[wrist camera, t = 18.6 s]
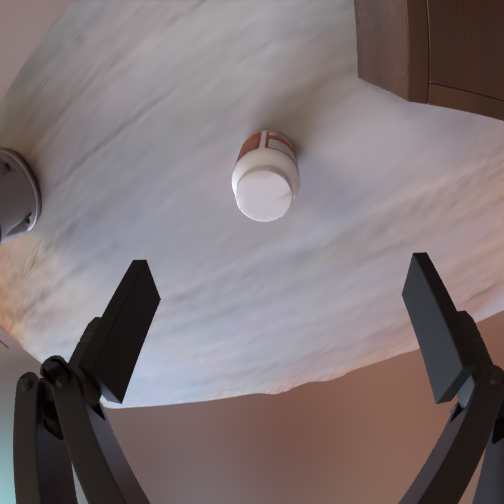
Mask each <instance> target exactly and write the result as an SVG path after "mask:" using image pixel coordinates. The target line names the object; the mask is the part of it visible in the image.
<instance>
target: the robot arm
mask: <svg viewBox="0 0 504 504" xmlns="http://www.w3.org/2000/svg"><path fill="white" fill-rule="evenodd" d="M40 212H41V197H40V191H39V187H38V184H37V181H36V179H35V177H34V175H33V173H32V171H31V169H30V167H29V166H28V164H27V163H26V162H25V161H24V160H23V158H22V157H21V156H19V155H18V154H17V153H16V152H14V151H12V150H10V149H6V148H0V244H2V243H4V242H6V241H9V240H11V239H13V238H15V237H18V236H20V235H22V234H24V233H26V232H27V231H29V230H30V229H31V228H32V227H33V226H34V225H35V224H36V223H37V221H38V219H39V216H40ZM402 297H403V300H404V302H405V305H406V308H407V311H408V313H409V316H410V319H411V322H412V325H413V328H414V331H415V334H416V337H417V340H418V343H419V346H420V349H421V353H422V356H423V359H424V363H425V366H426V369H427V373H428V376H429V380H430V384H431V387H432V391H433V395H434V399H435V403H436V404H439V403H443V402H448V401H451V400H452V399H453V398H454V396H455V395H456V394H457V396H458V400H459V401H458V402H457V403H456V404H455V405H454V406H453V408H452V409H451V410H450V412H449V413H451V412H452V411H453V412H452V414H451V416H450V418H449V420H448V422H447V424H446V426H445V428H444V430H443V432H442V434H441V436H440V438H439V440H438V441H437V443H436V445H435V447H434V449H433V450H432V452H431V454H430V456H429V458H428V459H427V461H426V463H425V464H424V466H423V468H422V469H421V471H420V472H419V474H418V475H417V477H416V479H415V480H414V482H413V483H412V485H411V486H410V488H409V489H408V491H407V492H406V493H405V495H404V496H403V498H402V499H401V501H400V502H399V503H398V504H458V502H459V500H460V499H461V497H462V495H463V493H464V491H465V489H466V488H467V486H468V484H469V482H470V480H471V478H472V476H473V474H474V472H475V469H476V467H477V465H478V463H479V461H480V459H481V456H482V454H483V452H484V449H485V447H486V450H485V455H484V460H483V464H482V469H481V473H480V477H479V481H478V485H477V488H476V492H475V496H474V499H473V502H472V504H504V371H503V370H502V369H501V368H500V367H499V366H496V365H493V363H492V361H491V358H490V356H489V353H488V351H487V348H486V346H485V344H484V342H483V339H482V337H481V336H480V333H479V331H478V330H477V326H476V324H475V322H474V320H473V318H472V317H471V316H470V315H469V314H468V313H467V312H466V311H457V310H456V308H455V306H454V304H453V302H452V300H451V298H450V296H449V294H448V292H447V290H446V288H445V286H444V284H443V282H442V280H441V278H440V276H439V274H438V272H437V271H436V269H435V267H434V265H433V263H432V262H431V260H430V258H429V256H428V254H427V253H426V252H424V253H413V255H412V259H411V263H410V267H409V270H408V274H407V278H406V282H405V285H404V289H403V292H402ZM160 300H161V299H160V296H159V294H158V291H157V288H156V286H155V283H154V280H153V277H152V275H151V272H150V269H149V266H148V263H147V260H133V261H132V263H131V265H130V267H129V268H128V270H127V272H126V273H125V275H124V277H123V279H122V280H121V282H120V284H119V286H118V288H117V289H116V291H115V293H114V295H113V297H112V298H111V300H110V302H109V304H108V306H107V308H106V310H105V312H104V313H103V315H102V317H95V318H94V319H93V320H92V321H91V322H90V323H89V324H88V325H87V327H86V329H85V331H84V333H83V335H82V337H81V339H80V342H78V344H77V346H76V348H75V350H74V352H73V354H72V356H71V358H70V360H69V363H67V362H66V361H65V360H64V358H62V357H61V356H57V355H55V356H51V357H49V358H48V359H46V360H45V362H44V363H43V364H42V366H41V369H40V374H41V375H42V376H43V378H39V377H38V376H37V375H36V374H35V373H33V372H27V373H25V374H23V375H22V376H21V377H20V379H19V381H18V383H17V388H16V398H15V412H14V431H13V432H14V433H13V460H14V461H13V462H14V482H15V494H16V504H78V502H77V497H76V491H75V485H74V479H73V471H72V463H73V466H74V469H75V472H76V474H77V477H78V480H79V482H80V485H81V487H82V490H83V492H84V494H85V497H86V499H87V501H88V504H150V502H149V501H148V499H147V497H146V495H145V494H144V492H143V490H142V488H141V486H140V485H139V483H138V481H137V479H136V477H135V475H134V473H133V472H132V470H131V468H130V466H129V464H128V462H127V460H126V458H125V456H124V454H123V451H122V449H121V447H120V445H119V443H118V441H117V438H116V436H115V434H114V432H113V429H112V427H111V425H110V422H109V420H108V418H107V415H106V413H105V410H104V408H103V405H102V403H101V402H100V397H101V395H103V396H104V398H105V399H106V400H107V401H111V402H115V403H120V404H122V402H123V399H124V396H125V393H126V390H127V387H128V384H129V381H130V379H131V376H132V373H133V370H134V367H135V365H136V362H137V359H138V356H139V354H140V351H141V348H142V346H143V343H144V340H145V338H146V335H147V333H148V330H149V327H150V325H151V322H152V320H153V317H154V315H155V312H156V310H157V307H158V305H159V302H160ZM486 444H487V445H486ZM71 461H72V463H71Z"/></svg>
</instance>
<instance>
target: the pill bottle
mask: <svg viewBox="0 0 504 504" xmlns="http://www.w3.org/2000/svg"><path fill="white" fill-rule="evenodd" d="M232 186H233V190H234V193H235V195H236V202H237V205H238V207H239V208H240V210H241V211H242V212H243V213H244V214H245V215H246V216H248V217H250V218H252V219H254V220H257V221H265V222H266V221H272V220H276V219H278V218H280V217H282V216H283V215H284V214H285V213H286V212H287V211H288V210H289V208H290V206H291V204H292V201H293V200H294V198H295V197H296V195H297V193H298V190H299V186H300V176H299V170H298V164H297V158H296V153H295V149H294V147H293V145H292V143H291V142H290V140H289V139H288V138H287V137H286V136H284V135H283V134H281V133H279V132H276V131H271V130H265V131H260V132H257V133H255V134H253V135H252V136H250V137H249V138H248V139H247V140H246V141H245V142H244V144H243V146H242V148H241V151H240V154H239V156H238V159H237V162H236V165H235V167H234V170H233V175H232Z"/></svg>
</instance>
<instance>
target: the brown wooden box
mask: <svg viewBox="0 0 504 504" xmlns="http://www.w3.org/2000/svg"><path fill="white" fill-rule="evenodd" d="M354 4H355V16H356V31H357V52H358V78H361V79H363V80H365V81H368V82H370V83H372V84H374V85H376V86H378V87H381V88H383V89H385V90H387V91H389V92H391V93H393V94H395V95H397V96H399V97H401V98H403V99H405V100H407V101H409V102H416V103H422V104H429V105H435V106H440V107H446V108H451V109H456V110H461V111H466V112H470V113H475V114H479V115H483V116H487V117H491V118H495V119H499V120H502V121H504V0H354Z"/></svg>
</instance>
